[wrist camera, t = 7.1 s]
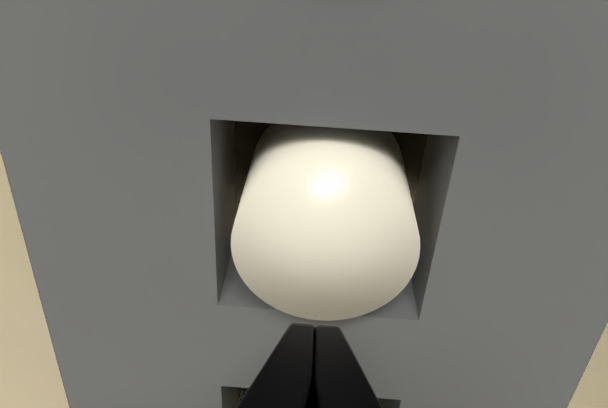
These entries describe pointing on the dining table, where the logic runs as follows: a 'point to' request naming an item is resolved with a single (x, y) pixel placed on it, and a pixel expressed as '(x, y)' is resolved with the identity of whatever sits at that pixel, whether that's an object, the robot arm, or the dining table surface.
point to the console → (322, 113)
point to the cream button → (326, 222)
